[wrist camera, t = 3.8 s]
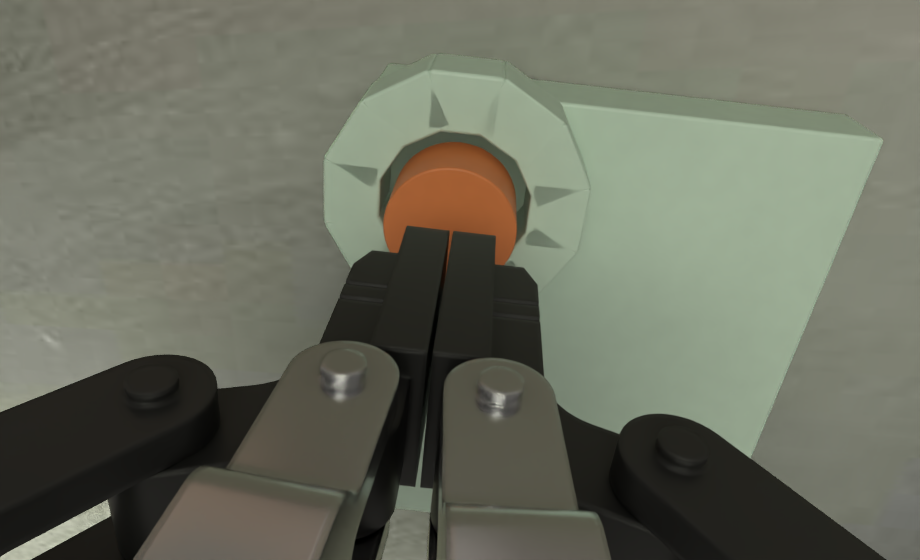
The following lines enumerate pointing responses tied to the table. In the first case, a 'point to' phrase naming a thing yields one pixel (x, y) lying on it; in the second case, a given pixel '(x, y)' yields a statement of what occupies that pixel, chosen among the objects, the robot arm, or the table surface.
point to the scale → (628, 228)
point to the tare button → (454, 197)
